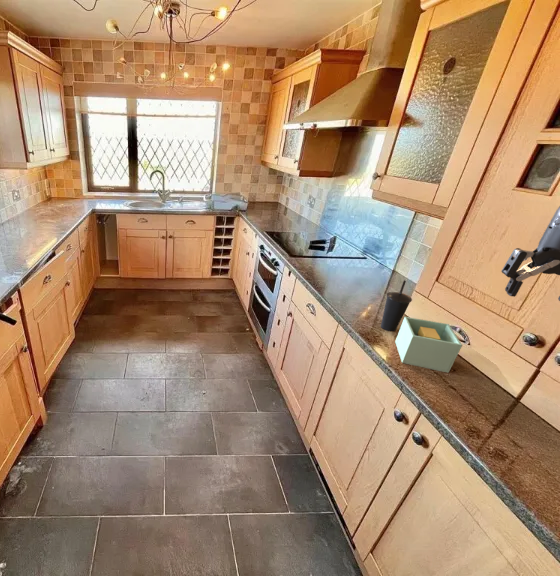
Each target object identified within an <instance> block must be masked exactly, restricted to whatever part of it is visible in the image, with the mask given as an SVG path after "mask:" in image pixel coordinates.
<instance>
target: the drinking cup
mask: <svg viewBox="0 0 560 576" xmlns="http://www.w3.org/2000/svg"><path fill="white" fill-rule="evenodd" d="M402 281H403V282H402V284H401V288H400V290H399V291H390V292H387V293H386V300H385V304H384V308H383V315H382V319H381V323H380V328H381V329H382V330H384V331H386V332H390V333H391V332H392V333H393V332H395V331H396V330H397V328H398V326H399V325H400V323H401V321H402V319H403V317H404V315H405V313H406V311H407V309H408V307H409V305H410V303H411V302H413V298H412V296H409V295H408V294H406V293H403V291H404V288H405V286H406V283H407V280H405V279H404V280H402Z"/></svg>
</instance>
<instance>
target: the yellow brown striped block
mask: <svg viewBox="0 0 560 576" xmlns="http://www.w3.org/2000/svg"><path fill="white" fill-rule="evenodd" d="M416 336H420V337H426V338H431V339H436V340H441V339H440V337H439V335H438V333H437V332H436V330H435V329H432V328H426V327H420V329H419V331H418V333H417V335H416Z"/></svg>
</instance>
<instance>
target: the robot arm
mask: <svg viewBox="0 0 560 576" xmlns="http://www.w3.org/2000/svg"><path fill="white" fill-rule="evenodd" d="M530 258H531V260H530V261H529V262H527V263H524V264H523V265H522V263H523V262H525V261H527V260H528V259H530ZM521 265H522V266H521ZM520 267H521V268H520ZM500 272H501V273H502V275H503V274H504V276H506V277H507V278H509V281H508V282H507V284H506V286H505V288H504V290H505V292H506V294H507V295H508V296H509V297H513V298H515V297H516V296H517V295H518V292H519V291H520V289H521V288H522V286H523V283H524V282H523V281H524V280H526V279H528V278H530V277H535V276H537V275H539V274H541V273H542V274H544V275H556V276H560V205H559V206H558V207H557V209H556V210H555V212H554V214H553V216H552V217H551V219H550V221H549V223H548V225H547V227H546V229H545V230H544V232H543V234H542V236H541V238H540V239H539V242H538V245H537V247H536V248H535V249H534V250H533V251H531V250H524V249H522V248H520V247H517V248H514V249H513V250H512V252H511V254H510V255H509V258H508V259H507V261H506V262H505V263H504V265H503V267H502V269H501V271H500ZM557 299H558V301H559V302H560V295H559V296H558V297H557Z"/></svg>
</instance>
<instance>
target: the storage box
mask: <svg viewBox="0 0 560 576" xmlns="http://www.w3.org/2000/svg"><path fill="white" fill-rule="evenodd" d="M403 317H404V318H403V320H402V323H401V325H400V327H399V330H398V333H397V336H396V339H395V341H394V343H395V346H396V349H397V352H398V354H399V359H400V361H401V363H402V364H406V365H410V366H414V367H419V368H423V369H429V370H433V371H437V372H443V373H447V374H448V373H449V372H450V371H451V369H452V367H453V366H454V363H455V361H456V359H457V357H458V355H459V353H460V351H461V349H462V347H463V344H462V343H461V341H460V339H459V338H458V336H457V334H456V333H455V331H454V330H453V328H452V326H451V325H450V324H449V323H444V322H439V321H433V320H427V319H421V318H415V317H410V316H403ZM420 327H426V328H432V329H435V330H436V332H437V333H438V335H439V337H440V339H441V340H436V339H431V338H426V337H420V336H416V335H417V333H418V331H419V329H420Z"/></svg>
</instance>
